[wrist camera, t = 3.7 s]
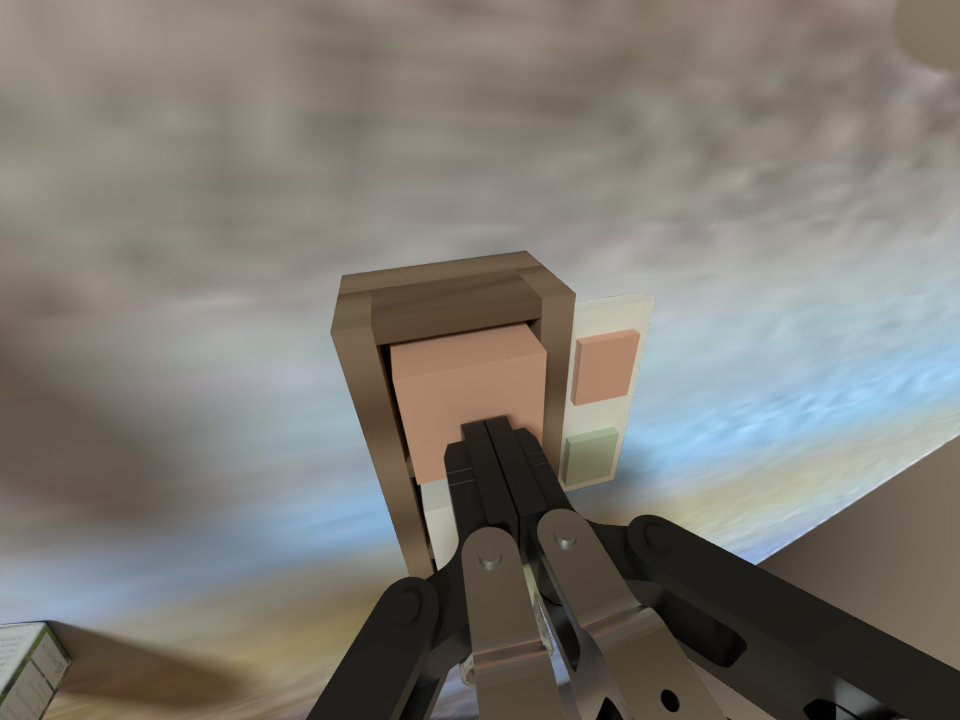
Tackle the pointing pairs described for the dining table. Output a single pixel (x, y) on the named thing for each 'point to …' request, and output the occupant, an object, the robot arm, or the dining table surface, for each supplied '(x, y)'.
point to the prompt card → (601, 385)
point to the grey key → (440, 520)
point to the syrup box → (29, 670)
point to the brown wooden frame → (434, 311)
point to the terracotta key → (466, 387)
